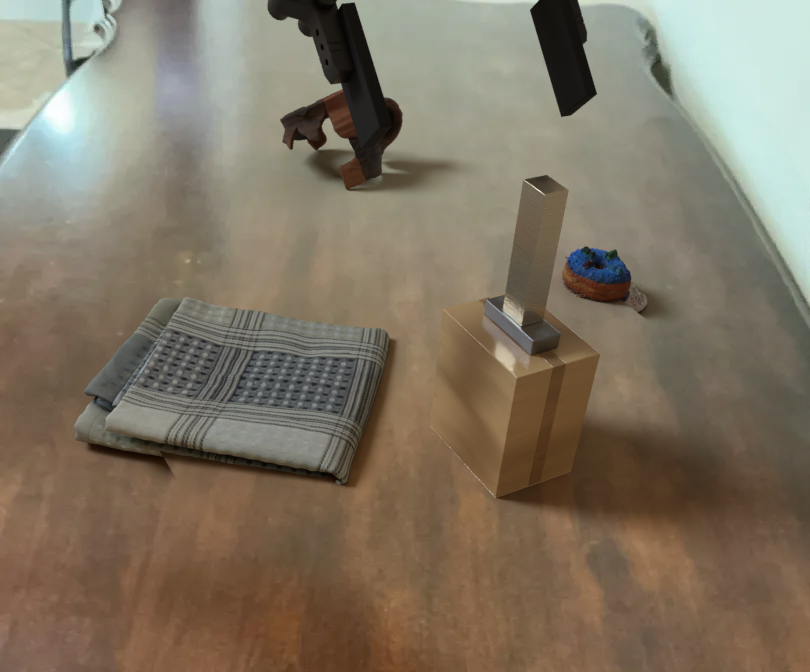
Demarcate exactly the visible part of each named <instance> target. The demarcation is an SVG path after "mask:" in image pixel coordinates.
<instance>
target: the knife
mask: <svg viewBox="0 0 810 672" xmlns="http://www.w3.org/2000/svg"><path fill="white" fill-rule="evenodd" d="M569 192H570V191H569V189H568V188H567V187H565V186H564V185H562V184H561V183H560V182H558V180H557V181H556V180H555V179H554V178H553V177H551V176H550V175H548V174H544V175H539V176H538V175H537V176H534V177H528V178H524V179H523V180H522V185H521V190H520V198H519V205H518V212H517V217H516V221H515V229H514V234H513V235H514V236H513V241H512V247H511V255H510V260H509V265H508V266H509V268H508V272H507V273H508V274H507V279H506V286H505V292H504V294H505V295H501V294H500V295H501V296H497V295H496V296H497V297H493V296H492V297H493V298H489V299H486V302H485V309H484V314H485V315H486V316H488V317H489V318H490V319H491V320H492V321H493V322H494V323H495V324H496V325H498V326H499V327H500V328H501V329H502V330H503V331H504V332H505V333H506V334H508V335H509V336H510V337H511V338H512V339H513V340H514V341H515V342H517V343H518V344H519V345H520V346H521V347H522V348H523V349H524V350H525V351H527V352H528V353H529V354H530V355H534V354H537V353H541V352H544V351H548V350H551V349H555V348H558V345H559V340H560V335H561V334H560V333H559V332H558V331H557V330H556V329H555V328H554V327H552V326H551V325H550V324H549V323H548V322H546V321H545V320H544V315H545V309H547V304H548V299H549V294H550V289H551V284H552V277H553V273H554V267H555V262H556V257H557V253H558V248H559V242H560V237H561V231H562V227H563V222H564V216H565V212H566V207H567V200H568V195H569Z"/></svg>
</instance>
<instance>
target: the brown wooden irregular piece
mask: <svg viewBox="0 0 810 672" xmlns="http://www.w3.org/2000/svg"><path fill="white" fill-rule="evenodd" d="M384 99H385V102H386V106H387V109H388V112H389V115H390V119H391V122H392V125H393V126H392V127H391V128H390V129H389V130H388V131H387V133H386V134H385V135H384V136H383V137H382V138H381V139H380V141H379V142H378V143H377V144H376V145H375V146H374V148H368V149H362V150H361V147H360V144H359V140H358V137H357V134H356V131H355V127H354V124H353V121H352V118H351V114H350V111H349V108H348V105H347V102H346V98H345V95H344V92H343V89H339V90H337V91H335V92H332V93H331V94H329V95H326V96H325V97H322V98H320V99H318V100H315V102H312V103H311V104H308V105H306V106H301V107H300V108H296V109H295V110H293V111H291V112H288V113H287V114H285V115H283V117H282V118H280V119H279V121H280V123H281V124H282V127H283V129H284V132H283V136H282V140H281V142H282V143H283V144H285V145H286V146H287V148H288V149H289V150H290V151H292V150H293V149H294V142H295V141H306V142H307V144H308V145H309V146H311V148H312V149H313V150H314V151H318V150H319V149H320V148H322V147H323V146H324V145H325V144H327V141H328V137H327V134H326V133H325V132H324V130H323V124H324V122H325V121H326V120H327V119H329V120H330V122H331V125H332V128H333V131H334V132H335V133H336V134H337V136H338V137H340V138H341V139H345V140H348V142H349V145H350V146H351V149H352V150H353V152H354V157H353V158H352V159H351V160H350V161H347V162H345V163H343V164H342V165H340V166H339V167H338V172H339V175H340V176H341V178H342V180H343V184H344V188H345V189H346V190H350V189H352V188H356V187H358V186H361V185H362V184H364V183H366V182H368V181H371V180H372V179H376V178H378V177H379V176H381V175H382V174H383V155H384V153H385V150H386V149H388V147H389V146H390V145H391V144H392V143H394V141H396V139H397V138H398V136H399V134H400V132H401V130H402V127H403V121H404V120H403V116H404V113H403V111H402V109H401V108H400V105H399V104H398V102H397V101H396V100H395V99H393V98H391V97H387V96H384Z"/></svg>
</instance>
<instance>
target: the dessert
mask: <svg viewBox="0 0 810 672" xmlns="http://www.w3.org/2000/svg"><path fill="white" fill-rule="evenodd" d="M565 259H566V261H565V263H564V266H563V268H562V272H561V275H562V276H561V277H562V278H561V280H563V281H564V282H563V285H564V287H565V289H566V290H567V291H569V293H572V294H573V295H574V297H577V298H583V299H586V300H590V301H593V302H600V303H610V304H611V303H616V302H619V301H622V302H623V303H624V304H626V305H627V306H628V307H630V308H631V309H632V310H633V311H635V312H636V313H637V314H638V313H640V312H641V311H643V310H644V308H646V306H647V305H648V298H647V296H646V295H645V293H643V292H640V291H639V290H638V289H637V287H636V286H635V284H634V281H632V274H631V270H630V269H628V268H627V265H626V264H625V262H624V260H622V259H621V258H620V256H619V255H618V250H617V249H616V248H615V249H613V250H609V251H608V250H605V249H599V248H595V247H589V246H588V245H585V246H583V247H582V248H577V249H575V250H574V251H572V252H570V254H569V256H565ZM641 285H642V284H641V283H639V287H641Z"/></svg>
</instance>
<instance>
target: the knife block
mask: <svg viewBox="0 0 810 672" xmlns="http://www.w3.org/2000/svg"><path fill="white" fill-rule="evenodd" d="M501 295H505V293H501V294H496V295H493V296H490V297H483V298H481V299H476V300H472V301H468V302H463V303H460V304H457V305H456V304H455V305H452V306H448V307H444V308H442V312H441V321H440V330H439V340H438V348H437V349H438V350H437V359H436V368H435V374H434V375H435V377H434V386H433V394H432V403H431V412H430V420H429V421H430V422H429V428H430V429H431V431H433V432H434V433H435V435H436V436H438V438H439V439H440V440H441V441H442V442H444V444H445V446H447V447H448V448H449V450H450V451H451V452H452V453H453V454H454V455H455V456H456V458H458V459H459V460H460V462H462V464H463V465H464V466H465V467H466V468H467V469H468V470H469V471H470V472H471V474H472V475H473V476H474V477H475V478H476V479H477V481H479V482H480V484H482V485H483V487H484V488H485V489H486V490H487V491H488V493H489V494H491V495H492V497H494V498H495V499H497V498H500V497H503V496H506V495H509V494H512V493H515V492H517V491H520V490H523V489H526V488H528V487H531V486H534V485H538V484H540V483H543V482H546V481H549V480H551V479H554V478H557V477H560V476H563V475H566V474H569V473H571V472H572V470H573V466H574V462H575V458H576V453H577V449H578V445H579V441H580V439H581V438H580V437H581V434H582V433H581V432H582V429H583V425H584V421H585V417H586V413H587V409H588V406H589V401H590V396H591V393H592V388H593V384H594V381H595V377H596V373H597V368H598V365H599V361H600V356H601V353H600V352H599V351H598V350H597V349H596V348H594V347H593V346H592V345H590V344H589V342H587V341H586V340H585V339H584V338H582V337H581V336H580V335H578V333H576V332H575V331H574V330H573V329H571V328H570V327H569V326H568V325H566V324H565V323H564V321H562V320H560V319H559V317H557V316H556V315H554V314H553V313H552V312H551V311H550V310H548V309H547V308H546V309H545V315H544V320H545V321H546V322H548V323H549V324H550V325H551V326H552V327H554V328H555V329H556V330H557V331H558V332H559V333H560V334H561V335H560V340H559V345H558V348H555V349H551V350H548V351H544V352H541V353H537V354H534V355H530V354H529V353H528V352H527V351H525V350H524V349H523V348H522V347H521V346H520V345H519V344H518V343H517V342H515V341H514V340H513V339H512V338H511V337H510V336H509V335H508V334H506V333H505V332H504V331H503V330H502V329H501V328H500V327H499V326H498V325H496V324H495V323H494V322H493V321H492V320H491V319H490V318H489V317H488V316H486V315H485V314H484V309H485V302H486V299H489V298H493V297H497V296H501Z"/></svg>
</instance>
